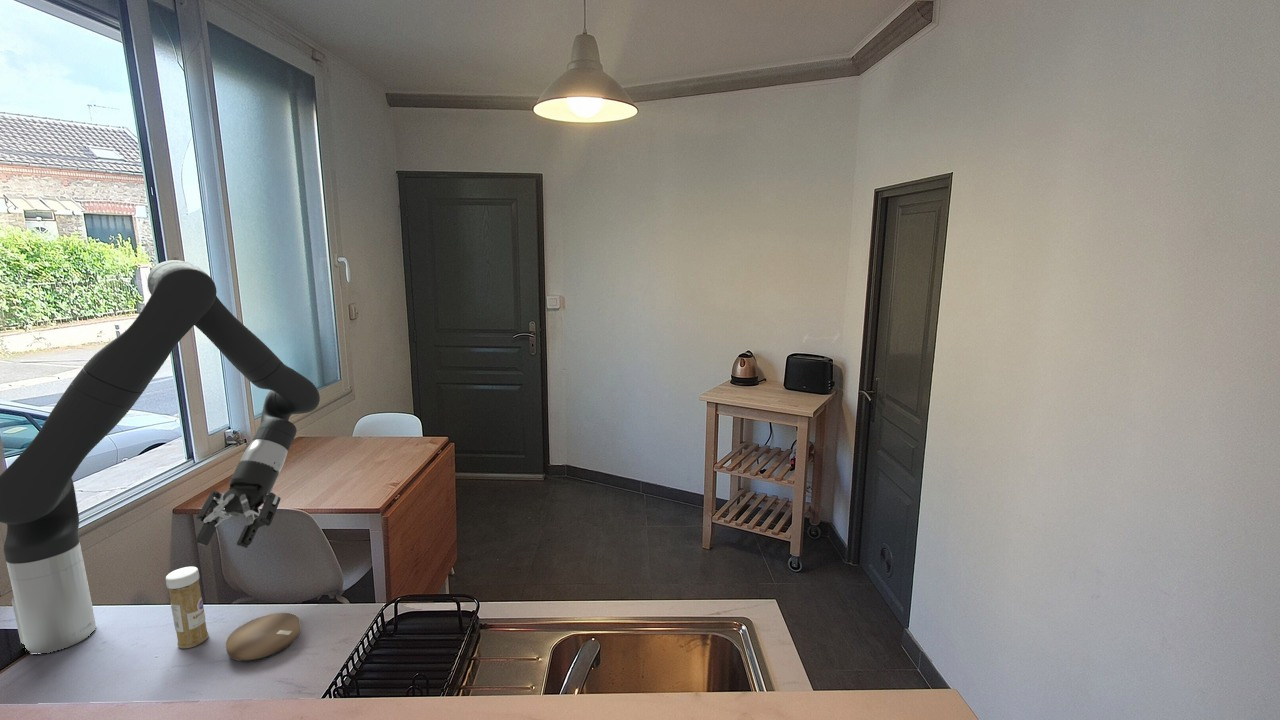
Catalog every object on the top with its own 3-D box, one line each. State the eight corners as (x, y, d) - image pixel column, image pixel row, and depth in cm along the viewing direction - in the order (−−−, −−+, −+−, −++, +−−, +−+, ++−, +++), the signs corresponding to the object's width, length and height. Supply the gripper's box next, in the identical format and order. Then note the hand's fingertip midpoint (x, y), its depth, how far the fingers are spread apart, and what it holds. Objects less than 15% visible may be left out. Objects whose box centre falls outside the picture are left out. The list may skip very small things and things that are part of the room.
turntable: (210, 657, 98) (209, 649, 98) (260, 618, 109) (259, 610, 109) (269, 662, 97) (268, 653, 97) (314, 622, 108) (313, 614, 107)
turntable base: (221, 660, 99) (220, 654, 99) (262, 627, 108) (261, 622, 108) (269, 663, 98) (268, 658, 98) (306, 630, 107) (305, 625, 107)
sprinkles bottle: (208, 643, 104) (196, 573, 102) (175, 653, 102) (163, 581, 99) (209, 630, 108) (198, 562, 106) (178, 639, 105) (166, 570, 103)
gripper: (216, 458, 118) (173, 537, 109) (280, 459, 116) (242, 540, 107) (241, 473, 124) (202, 550, 115) (302, 475, 122) (267, 553, 113)
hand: (221, 545), depth 111 cm, fingers open, 8 cm apart
